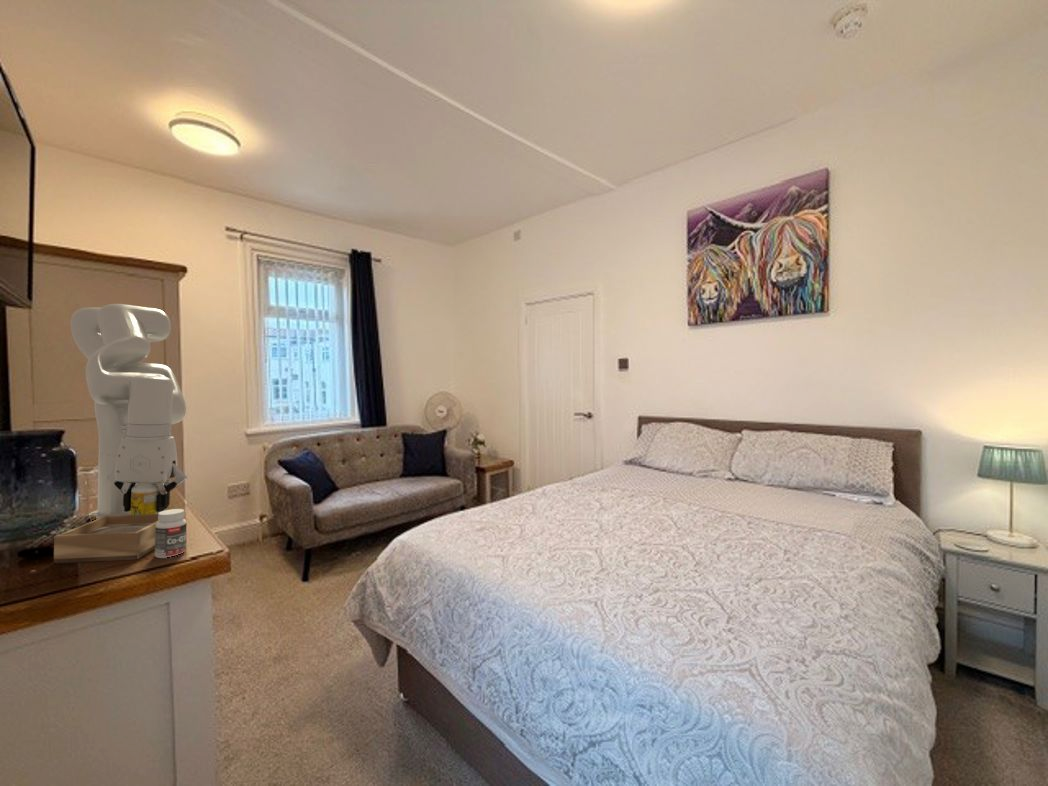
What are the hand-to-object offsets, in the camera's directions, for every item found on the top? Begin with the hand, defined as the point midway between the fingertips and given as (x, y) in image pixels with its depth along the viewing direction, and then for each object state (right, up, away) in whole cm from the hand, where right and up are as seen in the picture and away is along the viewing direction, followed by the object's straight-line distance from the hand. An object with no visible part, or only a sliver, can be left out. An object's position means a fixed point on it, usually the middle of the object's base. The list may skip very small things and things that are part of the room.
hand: (146, 509), depth 99 cm
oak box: (+5, -5, -11) cm, 13 cm away
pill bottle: (+16, -5, -13) cm, 22 cm away
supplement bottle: (0, -2, 0) cm, 2 cm away
